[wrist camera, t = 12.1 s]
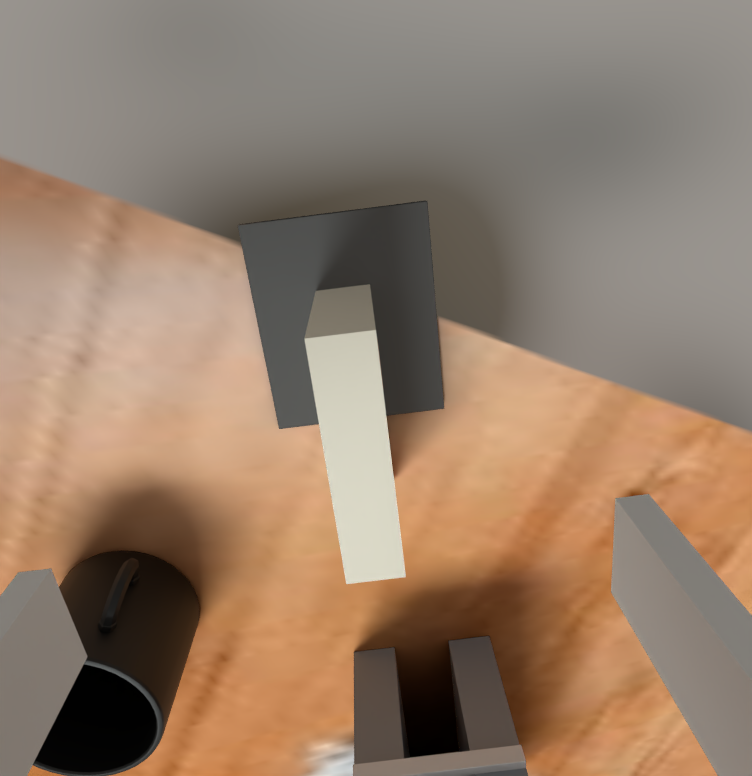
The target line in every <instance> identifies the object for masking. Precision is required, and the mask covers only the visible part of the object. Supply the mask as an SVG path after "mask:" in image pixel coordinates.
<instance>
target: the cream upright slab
mask: <svg viewBox="0 0 752 776" xmlns="http://www.w3.org/2000/svg"><path fill="white" fill-rule="evenodd" d="M304 339H305V345H306V351H307V357H308V363H309V369H310V374H311V380H312V386H313V392H314V398H315V404H316V409H317V415H318V421H319V427H320V433H321V439H322V444H323V450H324V456H325V462H326V468H327V474H328V479H329V485H330V491H331V497H332V503H333V509H334V514H335V520H336V526H337V532H338V538H339V544H340V549H341V555H342V561H343V567H344V573H345V579H346V584H351V583H359V582H368V581H376V580H385V579H393V578H401V577H406V574H405V566H404V558H403V550H402V541H401V533H400V525H399V517H398V508H397V500H396V492H395V484H394V475H393V467H392V459H391V451H390V442H389V434H388V426H387V418H386V409H385V401H384V393H383V381H382V373H381V365H380V356H379V348H378V340H377V335H376V327H375V319H374V312H373V304H372V296H371V289H370V284H367V285H359V286H351V287H343V288H335V289H327V290H319V291H316V292H315V296H314V300H313V304H312V309H311V313H310V317H309V321H308V326H307V330H306V334H305V338H304Z"/></svg>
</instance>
